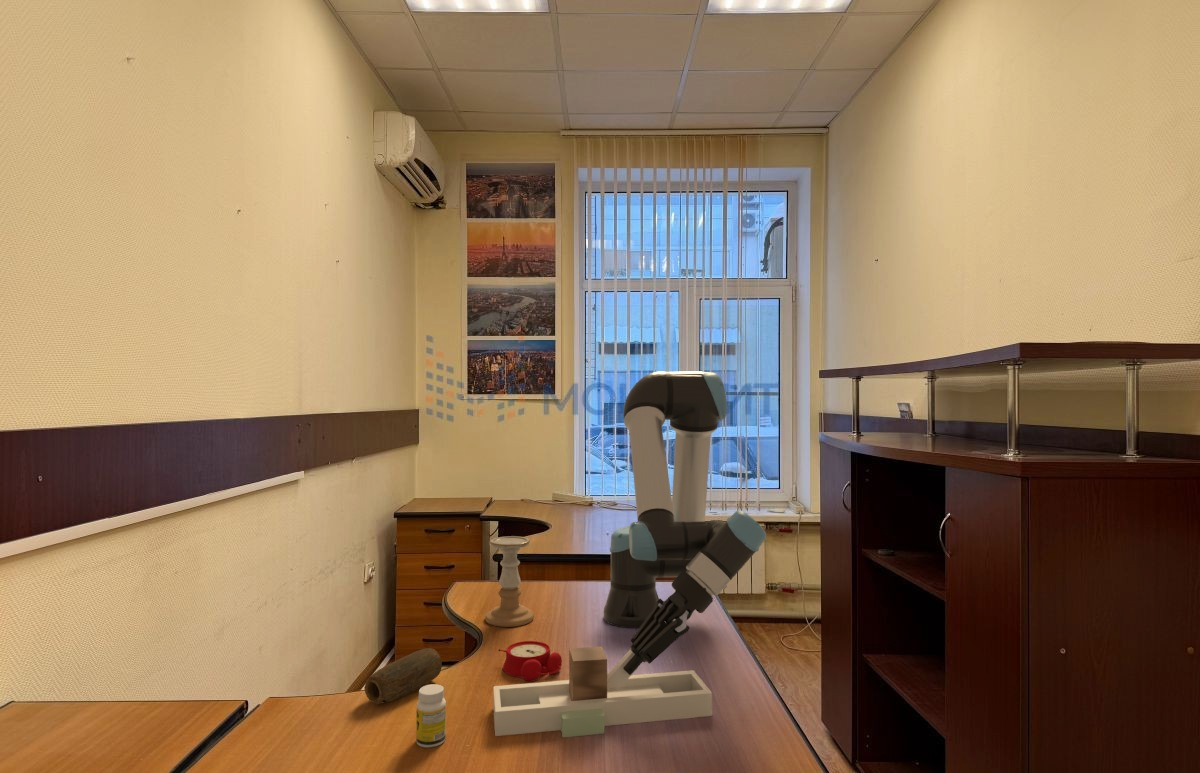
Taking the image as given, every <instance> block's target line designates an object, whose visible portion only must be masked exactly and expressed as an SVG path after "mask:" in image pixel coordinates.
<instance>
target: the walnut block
mask: <svg viewBox="0 0 1200 773" xmlns="http://www.w3.org/2000/svg"><path fill="white" fill-rule="evenodd" d="M568 650H569V654H568V656H569V660H568V662H569V663H568V668H569V670H568V675H569V676H568V680H569V694H570V698H571V701H579V700H591V699H603V698H607V675H608V657H607V656H606V653H605V651H604V649H603V647H602V646H589V647H573V648H572V647H571V648H569V649H568Z"/></svg>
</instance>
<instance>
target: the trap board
mask: <svg viewBox="0 0 1200 773" xmlns="http://www.w3.org/2000/svg"><path fill="white" fill-rule="evenodd" d="M564 680H565V681H561V680H552V681H553V682H552V681H543V682H542V681H541V682H529V683H517V684H506V685H494V686H493V699H492V700H493V702H492V703H493V708H492V709H493V723H494V724H493V726H494V736H495V737H501V736H512V735H523V734H533V733H542V732H543V733H544V732H555V731H561V712H568V711H579V710H591V709H602V711H603V713H604V727H608V726H618V725H627V724H630V725H631V724H638V723H641V724H642V723H651V722H661V721H672V720H682V719H692V718H704V717H712V716H713V692H712V691H711V690H710V688H708V686H707V685H706V684H705V682H704V681H703V680H702V678H700V677H699V675H698V674H697V673H696V671H695V670H694V669H693V670H681V671H680V670H679V671H669V672H667V671H666V672H654V673H642V674H641V673H640V674H632V675H631V676H630V677H629V678H628V679H627V681H626V682H625V683H624V684H623V685H622V686H621V687H620V689H619V690H618V689H616V688H615V687H614V686H613V685H612V684H611V683H610V682H609V681H608V680H607V698H603V699H591V700H579V701H571V698H570V694H569V679H564Z"/></svg>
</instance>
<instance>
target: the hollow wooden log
mask: <svg viewBox="0 0 1200 773" xmlns="http://www.w3.org/2000/svg"><path fill="white" fill-rule="evenodd" d="M442 667H443V664H442V658H441V656H440V654H439V652H438V651H437V650H436V649H434V648H431V647H428V648H427V647H425V648H422V649H420V650H416V651H414V652H412V653H410V654H407V655H406V656H403V657H401V658H399V659H396V660H394V661H392V662H391V663H389V664H387V665H385V666H383V667H382V668H380V669H378V670H377V671H375V672H373V673H372V674H371V675H370V676H369V677H368V679H367V680H366V682H365V684H364V689H363V690H364V693H365V695H366V698H367V699H368V700H369V701H370V702H372V703H374V704H377V705H381V704H382V703H384V704H387V703H390V702H393V701H394V700H397V699H399V698H402V697H404V696H406V695H408V694H410V693H413V692H414V691H415V690H419V689H420V688H422V687H423V686H426V685H428V684H429V683H430V682H432V681H433V680H434V679H436V678H437V677H438V676H439V675H440V673H441V671H442Z"/></svg>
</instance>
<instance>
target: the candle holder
mask: <svg viewBox="0 0 1200 773" xmlns="http://www.w3.org/2000/svg"><path fill="white" fill-rule="evenodd" d="M530 544H531V539H530V538H528V537H524V536H517V535H516V536H515V535H511V536H509V535H508V536H500V537H498V536H497V537H494V538H492V539H490V540H489V546H490V547H493V548H497V549H499V550H500V552H501V553H502V555H503V558H502V560H501V561H500V563H499V565H500V566H501V567H502V569H501V575H500V578H499V580H498V584H499V586H500V587H501V588H500V589H499V590H498V592H497V593H498V596H499V597H500V598H501V599H500V605H497V606H495V607H493V608H492V609H491V610H489V611H488V612H486V614H485V616H484V617H485V619H484V620H485V622H486V623H487V624H489V625H492V626H495V627H499V628H501V627H502V628H508V627H509V628H511V627H512V628H513V627H521V626H525V625H526V624H530V623H531V622H532V621H533V620H534V617H535V615H534V612H533V610H531V609H530V608H528V607H527V606H525V605H522V604H520V600H519V597H520V596H521V594H522V590H521V589H520V588H519V587H520V585H521V583H522V582H521V577H520V574H519V568H518V566H519V565H520V564H521V561H520V560H519V559H518V558H517V557H518V553H519V552H520V551H521V549H522V548H526V547H527V546H530Z"/></svg>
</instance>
